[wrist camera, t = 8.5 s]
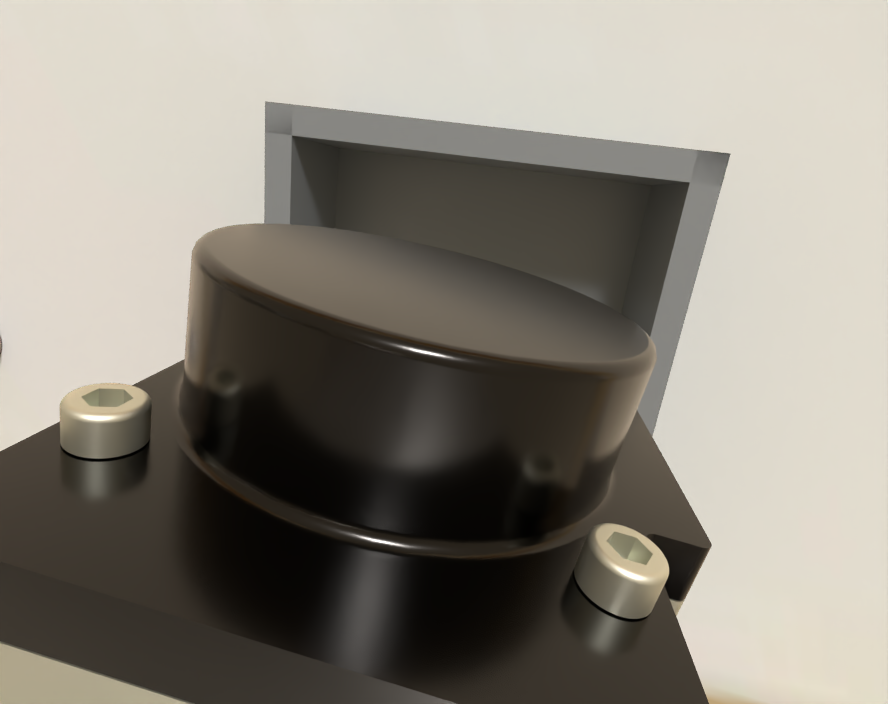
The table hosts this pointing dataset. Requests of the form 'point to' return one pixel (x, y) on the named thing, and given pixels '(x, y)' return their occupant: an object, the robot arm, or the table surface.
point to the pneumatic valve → (355, 497)
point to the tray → (510, 205)
